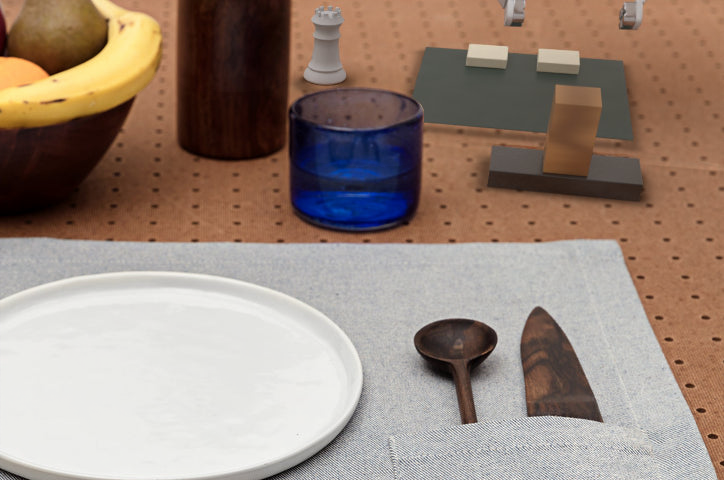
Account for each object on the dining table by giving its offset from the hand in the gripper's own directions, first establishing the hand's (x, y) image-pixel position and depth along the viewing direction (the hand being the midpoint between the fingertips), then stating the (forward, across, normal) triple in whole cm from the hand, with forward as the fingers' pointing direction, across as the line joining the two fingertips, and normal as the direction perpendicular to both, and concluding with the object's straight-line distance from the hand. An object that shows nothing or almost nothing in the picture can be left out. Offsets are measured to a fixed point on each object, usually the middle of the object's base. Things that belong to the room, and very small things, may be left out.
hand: (571, 25), depth 90 cm
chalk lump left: (-6, -4, +20) cm, 21 cm away
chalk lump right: (-5, +3, +19) cm, 20 cm away
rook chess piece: (0, -21, +16) cm, 26 cm away
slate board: (0, -2, +15) cm, 15 cm away
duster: (+13, 0, +2) cm, 13 cm away
